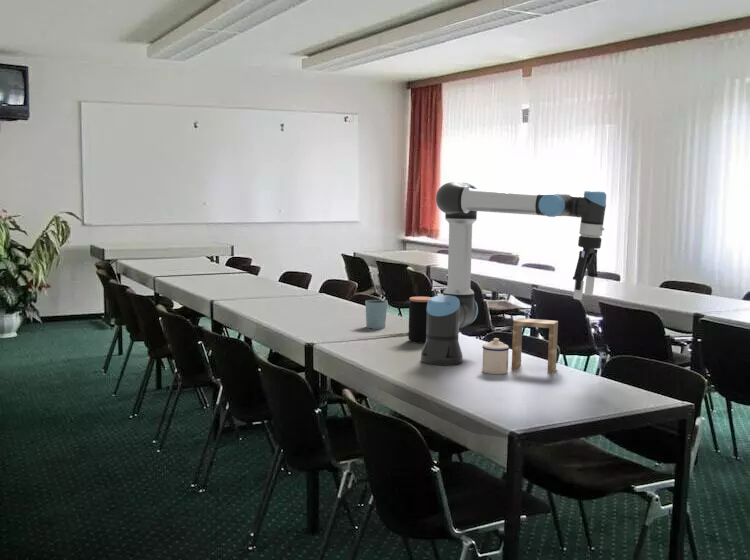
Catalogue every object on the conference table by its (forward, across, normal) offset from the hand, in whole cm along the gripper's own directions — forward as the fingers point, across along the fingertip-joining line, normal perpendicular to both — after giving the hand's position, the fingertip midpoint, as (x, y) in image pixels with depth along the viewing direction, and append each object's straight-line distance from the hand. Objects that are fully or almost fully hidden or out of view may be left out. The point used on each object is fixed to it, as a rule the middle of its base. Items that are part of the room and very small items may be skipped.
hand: (583, 297), depth 275 cm
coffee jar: (+32, +16, +68) cm, 77 cm away
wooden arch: (+27, -8, +12) cm, 30 cm away
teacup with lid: (+28, -19, +23) cm, 40 cm away
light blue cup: (+34, +35, +101) cm, 112 cm away
